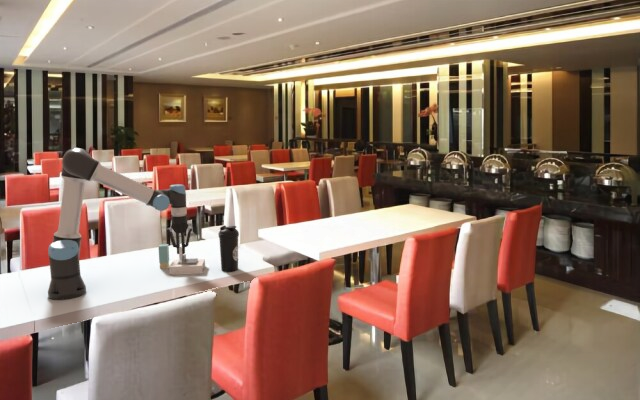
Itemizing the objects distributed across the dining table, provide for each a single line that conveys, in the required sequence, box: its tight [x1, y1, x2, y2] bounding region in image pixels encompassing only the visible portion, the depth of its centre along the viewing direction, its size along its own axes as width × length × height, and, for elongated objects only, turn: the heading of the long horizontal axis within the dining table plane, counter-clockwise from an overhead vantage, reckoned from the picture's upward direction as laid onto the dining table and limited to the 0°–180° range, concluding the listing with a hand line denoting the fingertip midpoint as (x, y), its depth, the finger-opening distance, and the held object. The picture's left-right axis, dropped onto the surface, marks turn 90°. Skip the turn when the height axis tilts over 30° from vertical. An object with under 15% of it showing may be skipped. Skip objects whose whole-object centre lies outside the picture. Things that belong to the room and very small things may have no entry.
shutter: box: [182, 254, 199, 264], centre depth 251 cm, size 7×7×3 cm
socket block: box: [168, 258, 206, 275], centre depth 251 cm, size 16×12×4 cm
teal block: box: [158, 243, 170, 269], centre depth 255 cm, size 4×4×12 cm
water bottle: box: [218, 225, 240, 273], centre depth 251 cm, size 10×10×23 cm
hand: (181, 259), depth 250 cm, fingers closed
